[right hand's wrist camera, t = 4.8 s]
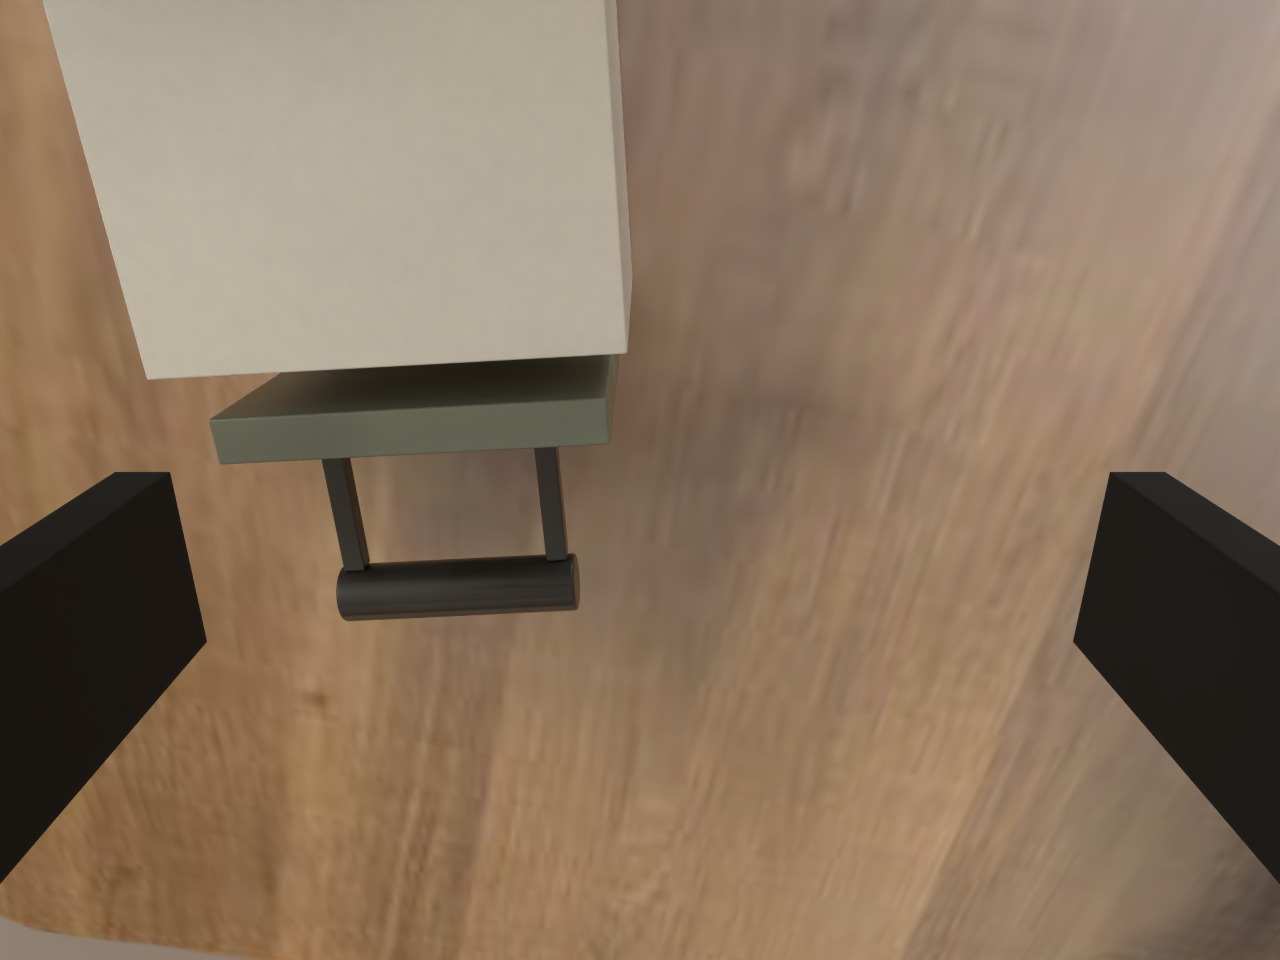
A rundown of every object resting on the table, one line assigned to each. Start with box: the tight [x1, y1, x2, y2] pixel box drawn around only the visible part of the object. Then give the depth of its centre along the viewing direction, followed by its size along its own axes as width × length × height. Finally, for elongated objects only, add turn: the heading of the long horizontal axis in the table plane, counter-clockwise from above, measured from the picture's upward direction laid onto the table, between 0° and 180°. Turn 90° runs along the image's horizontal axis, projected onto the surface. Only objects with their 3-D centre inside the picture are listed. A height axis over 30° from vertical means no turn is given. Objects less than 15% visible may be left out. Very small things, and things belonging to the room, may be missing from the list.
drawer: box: [209, 354, 619, 621], centre depth 23 cm, size 23×10×8 cm, turn 3°
